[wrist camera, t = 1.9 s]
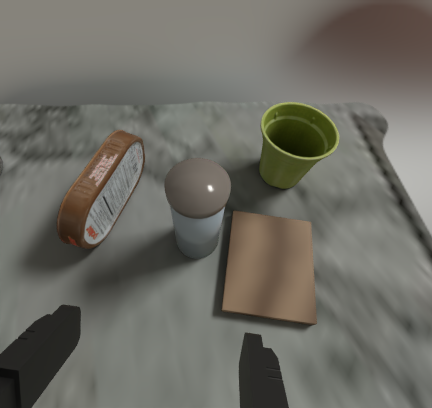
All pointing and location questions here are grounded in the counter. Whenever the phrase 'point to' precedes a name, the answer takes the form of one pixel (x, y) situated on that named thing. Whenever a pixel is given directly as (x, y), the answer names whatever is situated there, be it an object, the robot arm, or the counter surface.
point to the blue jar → (197, 204)
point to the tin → (101, 191)
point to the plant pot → (294, 142)
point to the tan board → (270, 269)
